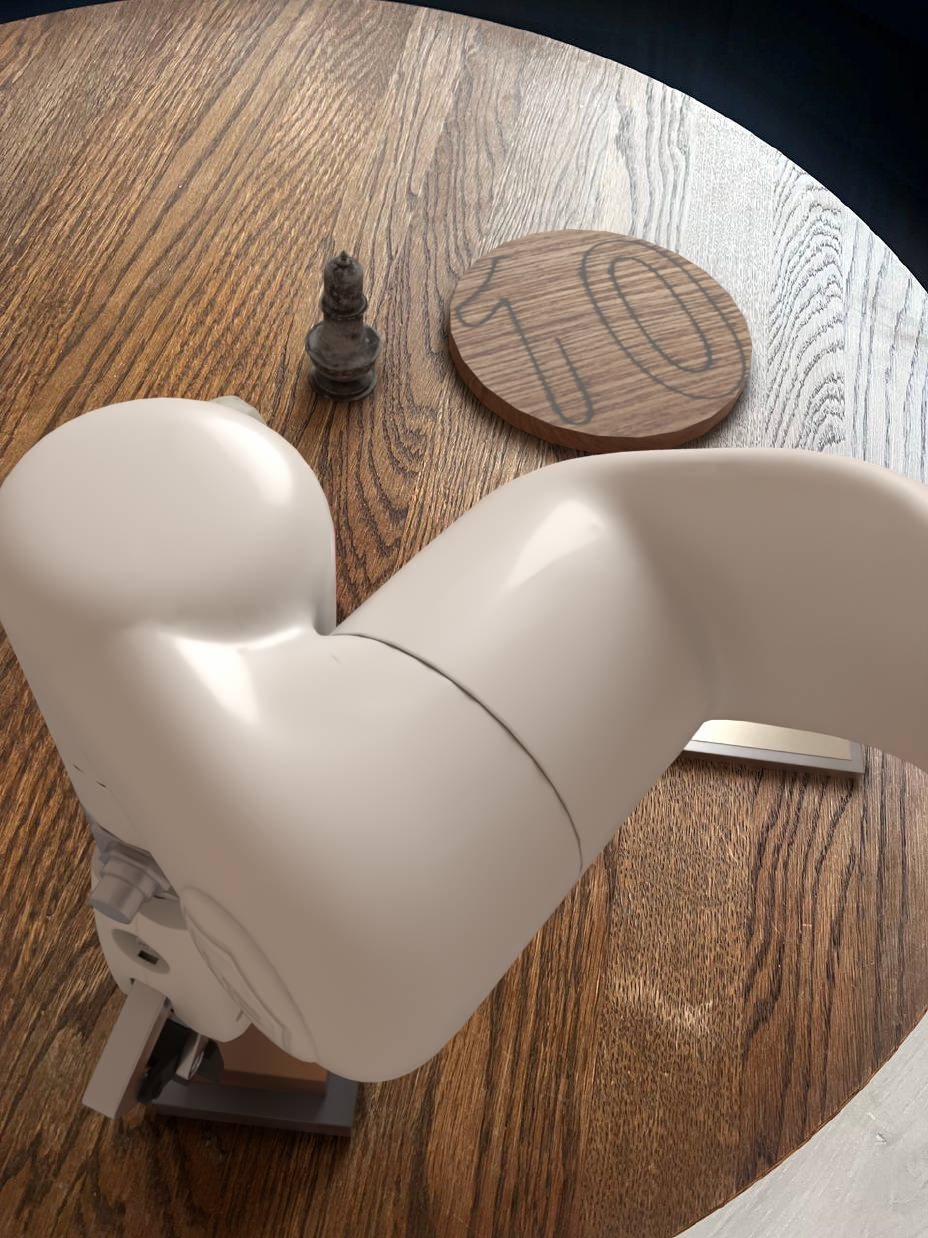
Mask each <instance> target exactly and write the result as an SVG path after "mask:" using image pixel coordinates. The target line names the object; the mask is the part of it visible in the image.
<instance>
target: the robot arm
mask: <svg viewBox="0 0 928 1238" xmlns="http://www.w3.org/2000/svg"><path fill="white" fill-rule="evenodd" d="M266 425H267V424H266ZM266 425H264V424H262V423H261V422H259V421H258V420H256V419H254V418H253V417H251V416H248V415H246V414H244V413H241V412H239V411H237V410H234V409H232V408H229V407H226V406H222V405H218V404H215V403H211V402H208V401H207V400H199V399H190V398H182V397H181V398H180V397H164V396H163V397H149V398H138V399H133V400H127V401H122V402H116V403H112V404H109V405H106V406H103V407H99V408H96V409H93V410H90V411H88V412H85V413H83V414H81V415H79V416H77V417H75V418H72V419H71V420H68V421H66V422H64V423H63V424H61V425H59V426H58V427H57V428H55V429H54V430H52V431H50V432H49V433H47V434H46V435H44V436H43V437H42V438H41V439H39V440H38V441H37V442H36V443H35V444H34V445H33V446H32V447H31V448H30V449H28V450H27V451H26V452H25V453H24V454H23V456H21V458H20V459H19V461H18V462H17V463H16V464H15V465H14V467H13V468H12V469H11V471H10V472H9V473H8V474H7V476H6V477H5V478H4V480H3V482H2V484H1V486H0V623H1V625H2V628H3V629H4V632H5V634H6V637H7V639H8V641H9V643H10V645H11V648H12V650H13V652H14V654H15V657H16V660H17V661H18V664H19V666H20V669H21V670H22V672H23V675H24V677H25V679H26V681H27V684H28V686H29V688H30V691H31V693H32V695H33V697H34V700H35V702H36V705H37V706H38V709H39V711H40V713H41V715H42V718H43V720H44V723H45V725H46V727H47V730H48V731H49V734H50V736H51V738H52V740H53V742H54V744H55V745H54V746H55V747H56V749H57V752H58V754H59V757H60V759H61V761H62V763H63V766H64V768H65V770H66V773H67V775H68V776H69V779H70V782H71V784H72V788H73V791H74V792H75V795H76V798H77V800H78V802H79V804H80V807H81V809H82V811H83V813H84V816H85V819H86V821H87V823H88V825H89V827H90V828H89V829H90V832H91V834H92V837H93V839H94V841H95V845H94V849H93V851H92V852H93V853H92V855H91V857H90V858H91V859H90V882H91V883H90V885H91V886H90V887H91V894H90V895H89V896H88V898H87V901H88V904H90V906H92V908H93V909H92V910H93V916H94V922H95V927H96V931H97V936H98V940H99V943H100V947H101V950H102V953H103V956H104V957H103V958H104V959H105V961H106V963H107V966H108V969H109V971H110V973H111V975H112V978H113V979H114V981H115V983H116V985H117V986H118V987H119V989H120V991H121V992H122V993H123V994H124V995H125V996H126V998H125V1001H124V1003H123V1005H122V1007H121V1010H120V1012H119V1013H118V1017H117V1019H116V1021H115V1023H114V1025H113V1028H112V1029H111V1032H110V1035H109V1037H108V1039H107V1041H106V1043H105V1046H104V1048H103V1051H102V1052H101V1055H100V1057H99V1059H98V1062H97V1064H96V1066H95V1069H94V1071H93V1073H92V1075H91V1077H90V1080H89V1082H88V1084H87V1086H86V1089H85V1091H84V1093H83V1096H82V1099H81V1105H83V1106H85V1107H86V1108H87V1109H91V1110H92V1111H94V1112H96V1113H98V1114H100V1115H103V1116H104V1117H106V1118H108V1119H110V1120H112V1121H117V1120H118V1119H120V1118H122V1117H123V1116H125V1115H126V1114H127V1113H129V1112H130V1111H132V1110H133V1109H134V1108H135V1106H136V1104H137V1103H139V1104H141V1105H143V1106H145V1107H146V1106H148V1105H150V1104H151V1101H152V1100H153V1099H155V1100H156V1099H158V1097H159V1096H160V1094H161V1093H162V1091H163V1088H164V1087H165V1086H166V1084H167V1083H168V1082H169V1081H170V1080H172V1081H174V1082H177V1083H179V1084H181V1085H183V1086H189V1084H190V1082H191V1080H192V1078H193V1077H194V1075H195V1074H197V1075H199V1076H201V1077H203V1078H205V1079H207V1080H209V1081H212V1082H214V1083H217V1084H218V1083H219V1081H220V1079H221V1077H222V1076H223V1074H224V1072H225V1070H224V1065H225V1064H224V1061H223V1058H222V1055H221V1052H220V1050H219V1047H218V1044H217V1043H216V1042H215V1041H213V1040H212V1039H215V1040H218V1041H221V1042H228V1041H231V1040H233V1039H235V1038H237V1037H238V1036H240V1035H241V1034H243V1033H244V1032H245V1030H246V1029H247V1028H248V1027H249V1025H250V1024H251V1022H252V1023H253V1024H254V1025H255V1026H256V1027H257V1028H258V1029H259V1030H260V1031H261V1032H262V1033H263V1034H264V1035H265V1036H266V1037H268V1038H269V1039H270V1040H271V1041H272V1042H273V1043H275V1044H276V1045H277V1046H279V1047H280V1048H281V1049H283V1050H284V1051H285V1052H287V1053H288V1054H290V1055H291V1056H293V1057H295V1058H297V1059H299V1060H301V1061H305V1062H310V1063H312V1062H315V1063H317V1064H318V1065H320V1066H322V1067H323V1068H325V1069H327V1070H329V1071H330V1072H332V1073H334V1074H336V1075H339V1076H341V1077H344V1078H347V1079H350V1080H354V1081H359V1082H360V1083H381V1082H382V1083H383V1082H388V1081H392V1080H396V1079H399V1078H401V1077H403V1076H406V1075H408V1074H411V1073H412V1072H414V1071H416V1070H417V1069H419V1068H421V1067H422V1066H424V1065H425V1064H426V1063H428V1062H429V1061H431V1060H432V1059H433V1058H434V1057H435V1056H437V1054H438V1053H439V1052H441V1051H442V1049H443V1048H444V1047H446V1045H447V1044H448V1043H449V1042H450V1041H451V1040H452V1039H453V1038H454V1037H455V1036H456V1035H457V1034H458V1033H459V1032H460V1031H461V1030H462V1028H463V1027H464V1026H465V1025H466V1024H467V1022H468V1021H469V1020H470V1018H471V1017H472V1016H473V1015H474V1014H475V1013H476V1011H477V1009H479V1007H480V1005H481V1004H482V1003H483V1002H484V1001H485V1000H486V999H487V997H488V996H489V995H490V994H491V992H492V991H493V990H494V988H495V987H496V986H497V985H498V984H499V982H500V981H501V979H502V978H503V977H504V976H505V975H506V974H507V972H508V971H509V969H510V968H511V967H512V966H513V965H514V963H515V962H516V961H517V960H518V958H519V957H520V956H521V954H522V953H523V952H524V951H525V949H526V948H527V947H528V946H529V944H530V943H531V942H532V941H533V939H534V938H535V937H536V935H537V934H538V933H539V932H540V930H541V929H542V928H543V926H544V925H545V924H546V922H547V921H548V920H549V919H550V918H551V916H552V915H554V912H556V910H557V909H558V908H559V906H560V905H561V904H562V902H563V901H564V900H565V898H567V896H568V894H569V893H571V892H572V890H573V888H574V887H575V886H576V885H577V883H578V882H579V881H580V880H581V878H582V877H583V876H584V875H585V873H586V872H587V870H589V868H590V867H591V866H592V864H593V863H594V862H595V860H597V858H598V857H599V855H600V854H601V853H602V852H603V850H604V849H605V848H606V847H607V845H608V844H609V843H610V842H611V840H612V838H613V837H615V835H616V834H617V832H618V831H619V830H620V829H621V827H622V826H623V825H624V823H625V822H626V821H627V820H628V818H629V817H630V816H631V814H632V813H633V812H634V811H635V809H636V808H637V807H638V806H639V804H640V803H641V802H642V801H643V800H644V798H645V797H646V796H647V794H648V793H649V792H650V790H651V789H652V788H653V787H654V786H655V784H656V783H657V782H658V781H659V779H660V778H661V777H662V776H663V775H664V773H665V772H666V771H667V769H668V768H669V767H670V766H671V765H672V764H673V763H674V761H675V760H676V759H677V758H679V757H678V755H679V754H680V753H681V752H682V750H683V749H684V748H685V747H686V745H687V744H688V743H689V741H690V740H691V739H692V738H693V736H694V735H695V734H696V733H697V731H698V730H699V729H700V727H701V726H702V725H703V723H704V722H707V721H710V720H733V721H745V722H753V723H759V724H765V725H771V726H778V727H784V728H790V729H796V730H802V731H809V732H815V733H819V734H824V735H829V736H834V737H838V738H842V739H846V740H849V741H852V742H856V743H859V744H861V745H863V746H867V747H870V748H872V749H873V748H874V749H876V750H879V751H881V752H883V753H885V754H887V755H890V756H892V757H895V758H896V759H899V760H901V761H904V762H905V763H908V764H910V765H912V766H914V767H916V768H917V769H918V770H920V771H922V772H924V774H925V773H926V775H928V484H926V483H924V482H922V481H919V480H917V479H915V478H912V477H910V476H908V475H904V474H903V473H901V472H897V471H895V470H893V469H890V468H888V467H885V466H883V465H881V464H877V463H873V462H870V461H867V460H863V459H859V458H855V457H852V456H849V455H843V454H836V453H831V452H823V451H817V450H811V449H806V448H794V447H793V448H791V447H790V448H789V447H772V446H771V447H769V446H761V447H760V446H758V447H757V446H755V447H753V446H752V447H712V448H711V447H710V448H709V447H708V448H707V447H705V448H680V449H679V448H677V449H664V450H648V451H632V452H619V453H610V454H607V453H601V454H595V455H594V454H593V455H589V456H582V457H581V456H580V457H576V458H570V459H566V460H561V461H558V462H554V463H551V464H548V465H545V466H543V467H539V468H537V469H534V470H533V471H529V472H527V473H525V474H522V475H520V476H518V477H516V478H514V479H512V480H509V481H507V482H506V483H503V484H502V485H500V486H498V487H497V488H495V489H494V490H492V491H491V492H489V493H488V494H486V495H485V496H483V497H482V498H481V499H479V500H478V502H476V503H475V504H474V505H473V506H472V507H470V508H469V509H468V510H466V511H465V513H463V514H462V515H460V517H458V518H457V519H455V521H453V522H452V523H451V524H450V525H449V526H447V528H445V529H444V530H443V531H442V532H441V533H440V534H438V535H437V536H436V537H435V538H433V540H431V541H430V542H428V543H427V544H426V545H425V546H424V547H423V548H422V549H421V550H419V552H417V553H416V554H415V555H413V557H411V559H410V560H408V561H407V562H406V563H405V564H404V565H403V566H402V567H401V568H399V570H397V571H396V573H394V574H393V575H392V576H391V577H390V578H389V579H388V580H387V581H386V582H384V583H383V584H382V585H381V586H380V587H379V588H378V589H377V590H376V591H374V592H373V593H372V594H371V595H370V596H368V598H367V599H366V600H365V601H364V602H362V603H361V604H360V605H359V606H358V607H357V608H356V609H355V610H354V611H353V612H351V613H350V614H349V615H348V616H347V617H346V618H345V619H344V620H343V621H342V622H341V623H340V624H338V625H337V617H336V615H337V558H336V559H335V533H334V527H335V525H334V526H333V524H334V521H333V517H332V514H331V509H330V505H329V502H328V499H327V497H326V494H325V492H324V490H323V488H322V485H321V483H320V482H319V479H318V477H317V475H316V474H315V472H314V470H313V469H312V468H311V467H310V465H309V464H308V463H307V461H306V460H305V459H304V457H303V456H302V455H301V453H300V452H299V451H298V449H296V448H295V447H294V445H292V444H291V443H290V442H289V441H288V440H286V439H285V437H283V436H282V435H281V434H280V433H278V432H277V431H275V430H273V429H272V428H271V427H269V426H268V425H267V426H266ZM170 1012H172V1013H173V1012H174V1013H175V1015H176V1016H177V1017H178V1018H179V1019H180V1020H182V1021H183V1022H184V1023H185V1024H186V1025H187V1026H189V1028H187V1027H185V1026H183V1025H181V1024H179V1023H177V1022H175V1021H173V1020H171V1018H169V1017H168V1016H169V1015H170ZM210 1038H212V1039H210Z"/></svg>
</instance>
